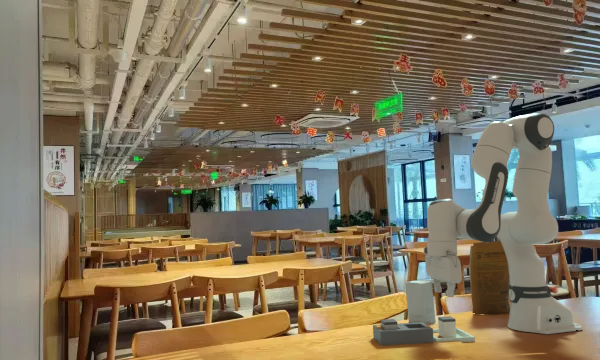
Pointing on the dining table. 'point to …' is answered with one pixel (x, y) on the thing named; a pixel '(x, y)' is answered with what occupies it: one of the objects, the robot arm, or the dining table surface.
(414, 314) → the skincare box
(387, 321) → the twin plug
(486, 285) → the pancake mix bag
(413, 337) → the grey socket block
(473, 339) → the tray
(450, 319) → the plug
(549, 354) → the dining table surface
